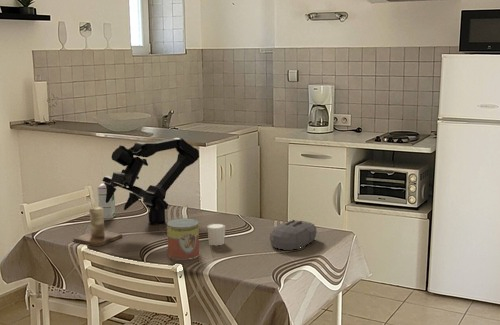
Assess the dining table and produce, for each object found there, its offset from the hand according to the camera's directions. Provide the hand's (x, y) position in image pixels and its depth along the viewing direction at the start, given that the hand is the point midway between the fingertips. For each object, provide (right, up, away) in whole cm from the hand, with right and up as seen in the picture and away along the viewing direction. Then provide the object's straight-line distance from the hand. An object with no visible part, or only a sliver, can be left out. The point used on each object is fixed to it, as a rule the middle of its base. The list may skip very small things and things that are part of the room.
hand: (115, 206), depth 248 cm
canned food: (+30, -16, -25) cm, 42 cm away
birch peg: (-5, -11, -7) cm, 14 cm away
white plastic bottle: (-9, -7, +25) cm, 27 cm away
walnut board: (-5, -12, -6) cm, 15 cm away
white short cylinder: (+41, -13, -13) cm, 45 cm away
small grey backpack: (+70, -14, -14) cm, 72 cm away
